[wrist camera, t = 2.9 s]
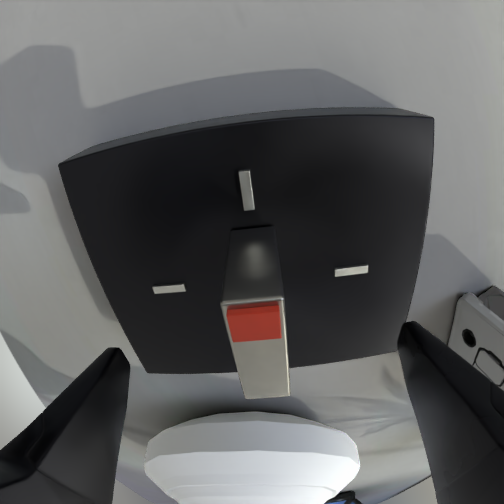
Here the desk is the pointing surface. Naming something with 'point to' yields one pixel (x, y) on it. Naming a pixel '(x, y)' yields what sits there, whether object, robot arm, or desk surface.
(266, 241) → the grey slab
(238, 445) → the candle holder
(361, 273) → the switch base
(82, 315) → the desk surface
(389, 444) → the desk surface
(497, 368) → the electrical switch
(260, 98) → the desk surface
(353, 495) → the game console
